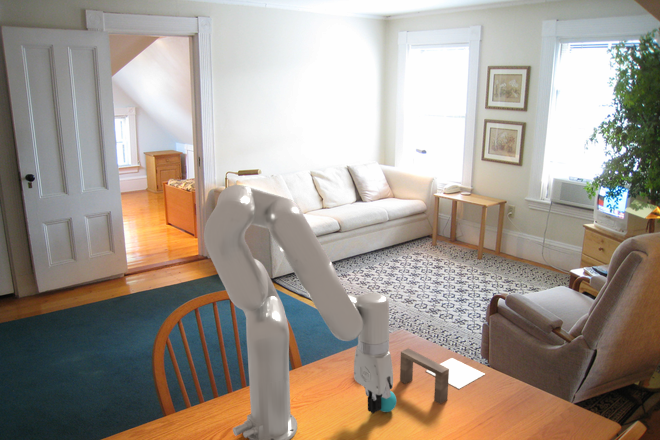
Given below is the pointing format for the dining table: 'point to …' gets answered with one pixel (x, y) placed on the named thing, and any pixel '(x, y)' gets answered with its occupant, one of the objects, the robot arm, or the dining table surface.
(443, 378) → the bridge
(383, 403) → the ball
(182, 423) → the dining table surface
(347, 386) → the dining table surface
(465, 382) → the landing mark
